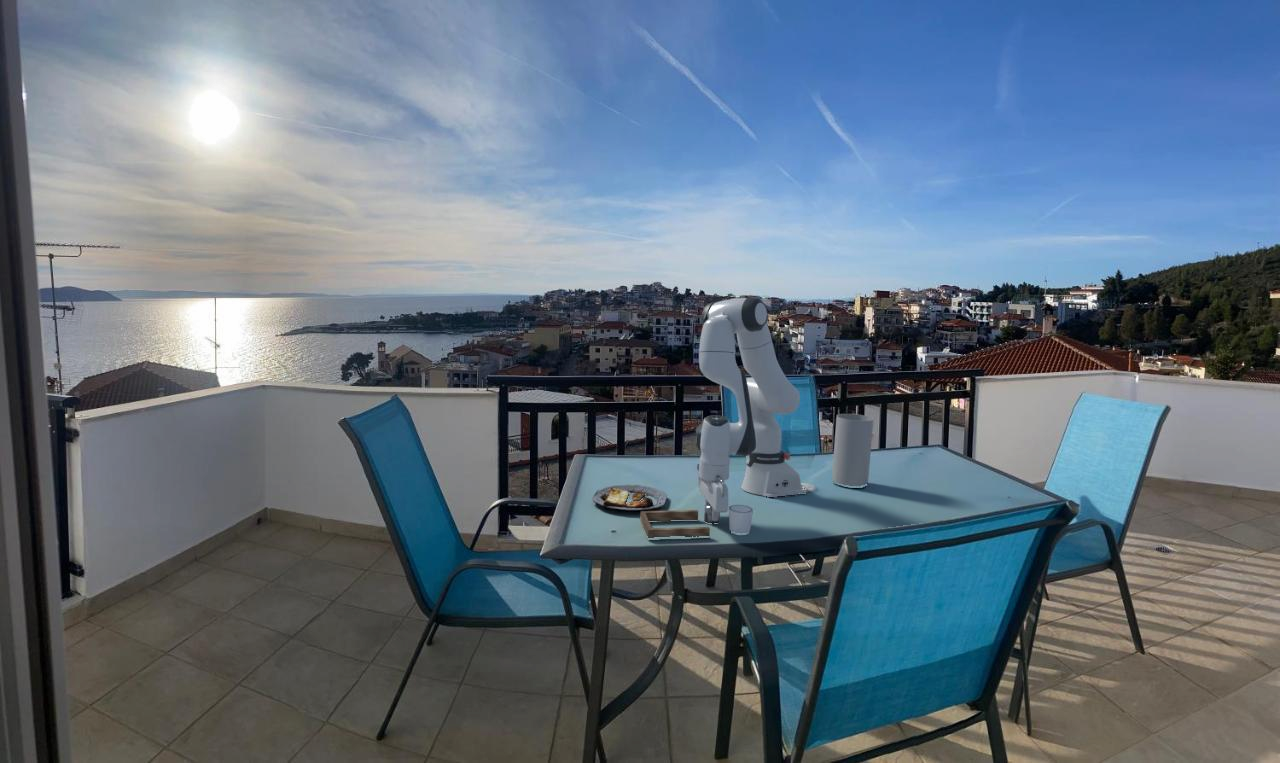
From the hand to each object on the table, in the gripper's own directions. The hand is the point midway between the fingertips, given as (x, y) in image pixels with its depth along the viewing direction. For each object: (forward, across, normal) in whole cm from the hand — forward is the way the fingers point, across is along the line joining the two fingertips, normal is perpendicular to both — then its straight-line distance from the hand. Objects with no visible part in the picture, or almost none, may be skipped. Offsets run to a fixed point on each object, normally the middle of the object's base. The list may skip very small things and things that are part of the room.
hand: (711, 516), depth 177 cm
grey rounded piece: (+2, 0, 0) cm, 2 cm away
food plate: (+2, +19, +22) cm, 29 cm away
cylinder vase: (+2, +33, -61) cm, 69 cm away
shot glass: (+2, -8, -6) cm, 10 cm away
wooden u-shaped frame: (+2, -5, +12) cm, 13 cm away
